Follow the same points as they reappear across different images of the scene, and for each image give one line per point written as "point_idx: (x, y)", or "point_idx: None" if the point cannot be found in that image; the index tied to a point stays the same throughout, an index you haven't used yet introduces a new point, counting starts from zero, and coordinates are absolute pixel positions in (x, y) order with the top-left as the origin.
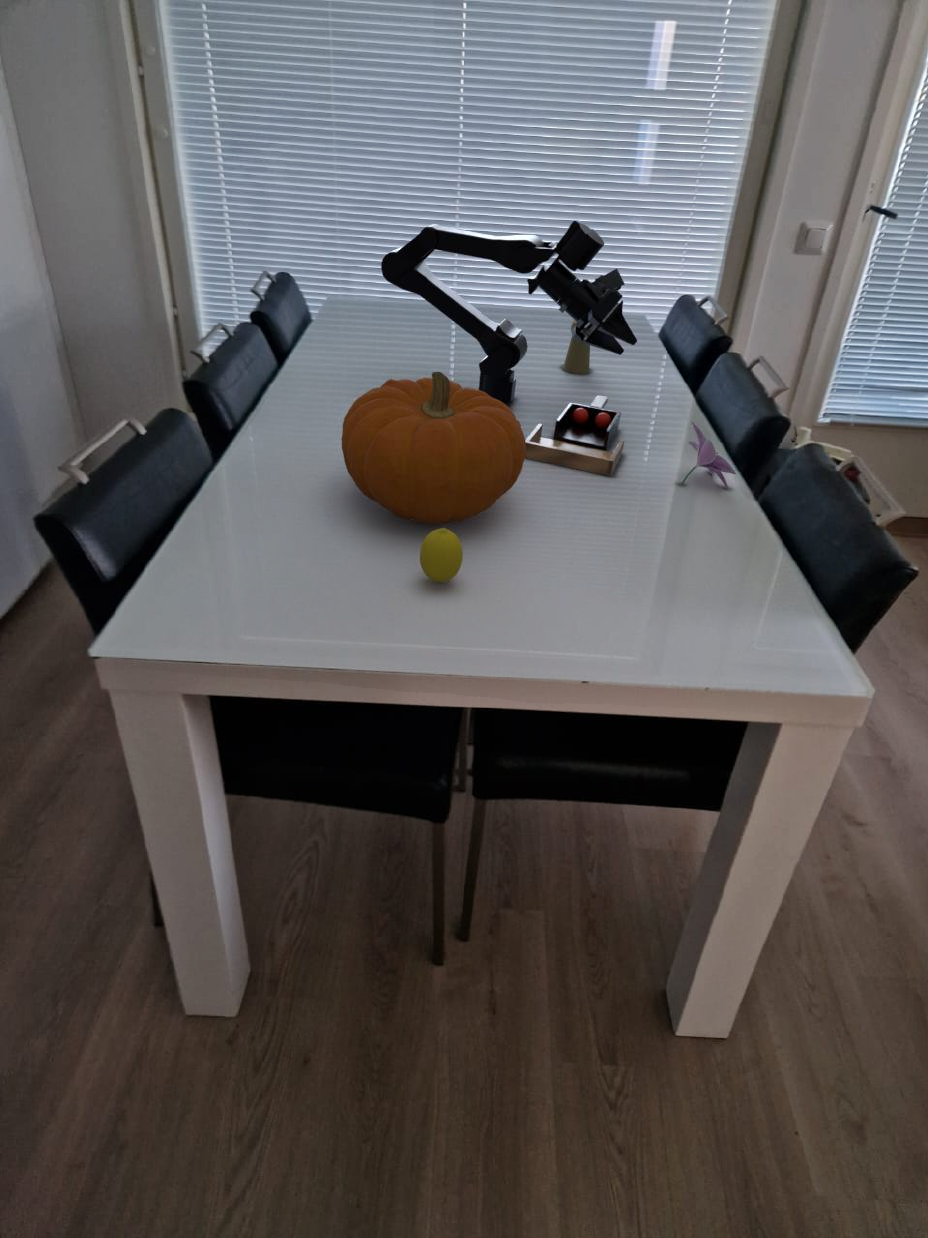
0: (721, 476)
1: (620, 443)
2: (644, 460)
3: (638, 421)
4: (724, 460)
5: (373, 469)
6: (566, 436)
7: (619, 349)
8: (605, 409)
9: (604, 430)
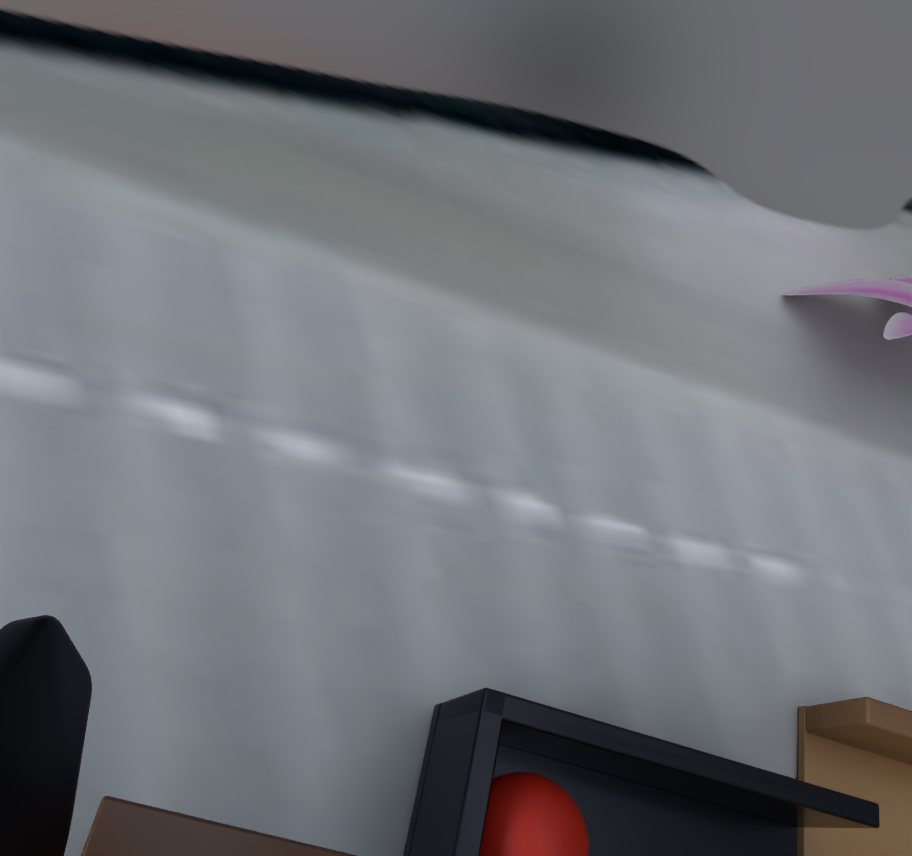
0: None
1: (909, 724)
2: (794, 577)
3: (179, 516)
4: None
5: None
6: None
7: (49, 712)
8: (464, 831)
9: None
